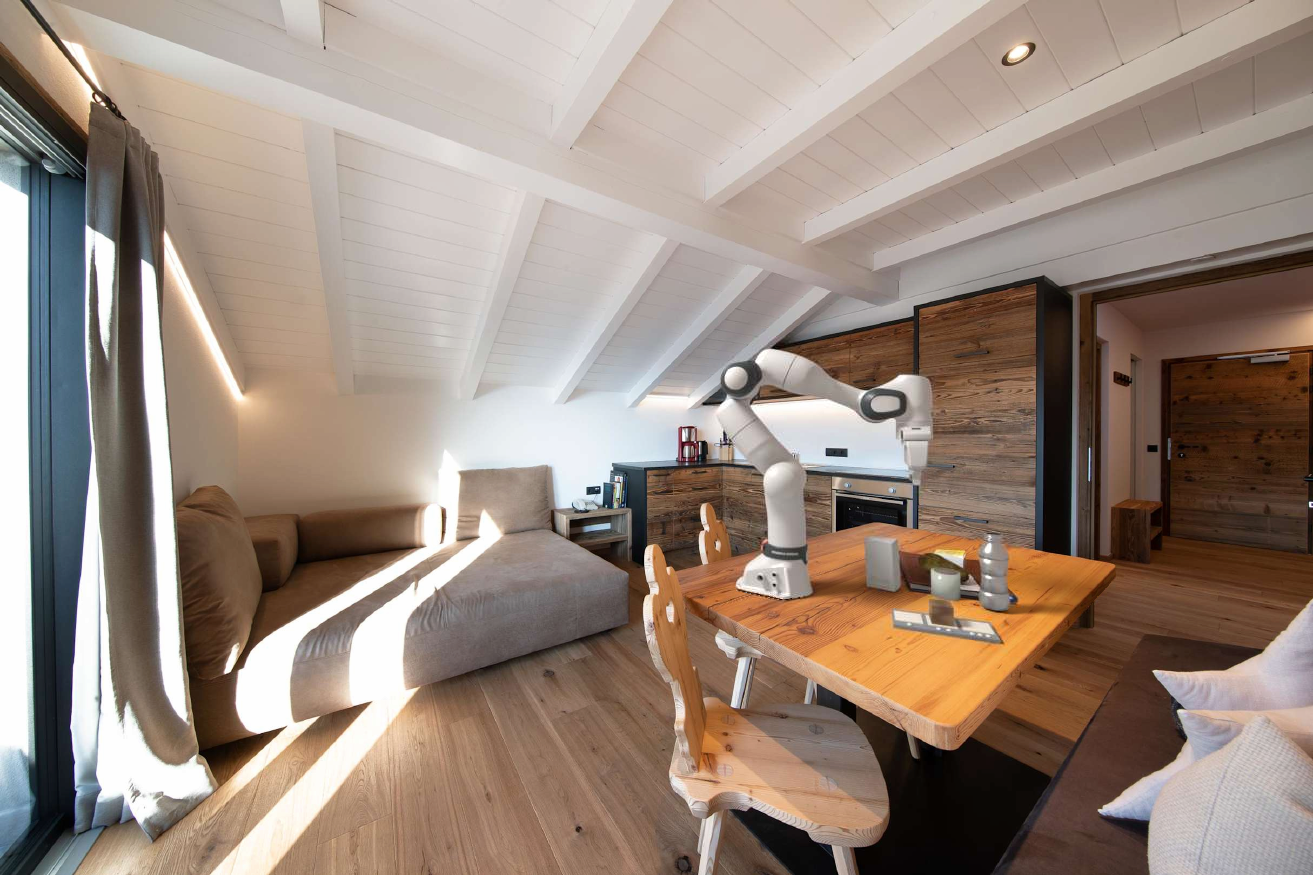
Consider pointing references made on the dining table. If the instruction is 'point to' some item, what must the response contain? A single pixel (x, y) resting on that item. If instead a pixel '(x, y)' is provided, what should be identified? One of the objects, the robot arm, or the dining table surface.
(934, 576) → the sage mug
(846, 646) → the dining table surface
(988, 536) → the plastic bottle
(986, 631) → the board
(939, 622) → the marker cube
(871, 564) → the skincare box
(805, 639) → the dining table surface
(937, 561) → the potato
